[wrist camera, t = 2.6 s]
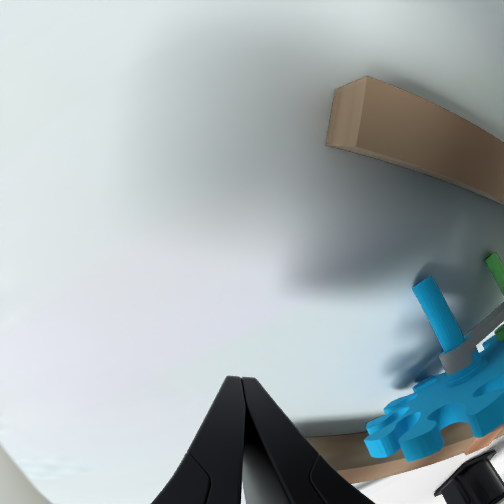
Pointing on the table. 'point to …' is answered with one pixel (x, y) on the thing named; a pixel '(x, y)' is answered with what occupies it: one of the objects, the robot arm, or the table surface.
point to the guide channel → (430, 163)
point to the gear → (447, 382)
